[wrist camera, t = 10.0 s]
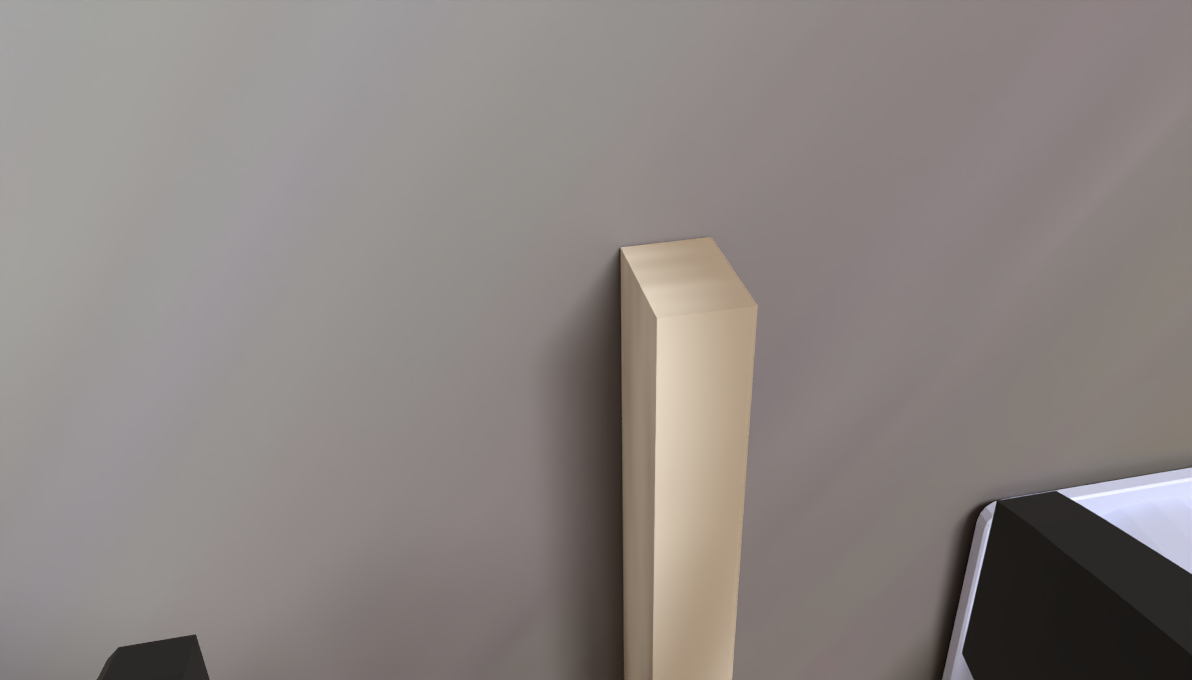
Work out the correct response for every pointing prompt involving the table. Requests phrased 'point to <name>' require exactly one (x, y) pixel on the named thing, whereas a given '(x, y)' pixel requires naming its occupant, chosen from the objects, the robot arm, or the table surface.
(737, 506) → the gauge bed
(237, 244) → the table surface
